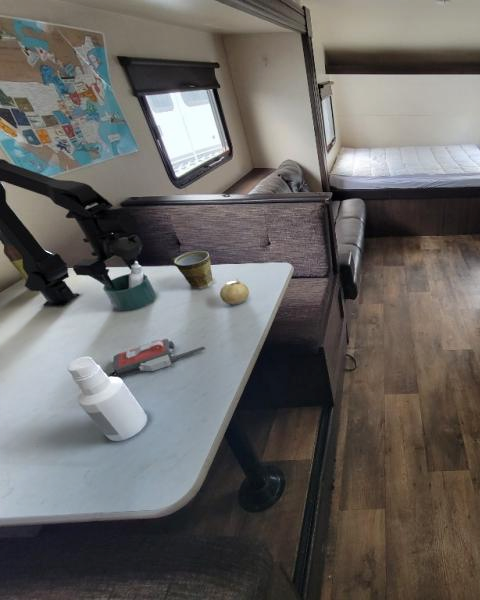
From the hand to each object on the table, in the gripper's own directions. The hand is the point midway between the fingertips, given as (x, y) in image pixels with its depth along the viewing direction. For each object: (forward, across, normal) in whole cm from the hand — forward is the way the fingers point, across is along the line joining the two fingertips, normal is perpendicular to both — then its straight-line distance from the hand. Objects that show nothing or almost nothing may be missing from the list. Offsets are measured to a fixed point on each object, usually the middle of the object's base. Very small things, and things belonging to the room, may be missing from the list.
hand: (124, 280), depth 101 cm
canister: (+8, 0, 0) cm, 8 cm away
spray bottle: (+8, -43, -31) cm, 54 cm away
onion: (+8, +2, -32) cm, 33 cm away
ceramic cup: (+8, +11, -14) cm, 19 cm away
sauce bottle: (+8, +8, +40) cm, 42 cm away
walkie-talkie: (+8, -24, -25) cm, 36 cm away
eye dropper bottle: (+7, 0, 0) cm, 7 cm away
